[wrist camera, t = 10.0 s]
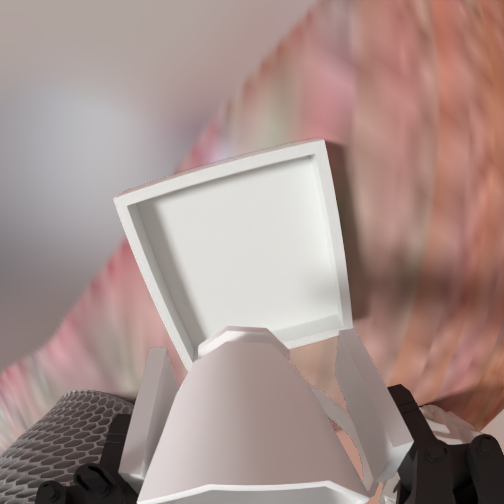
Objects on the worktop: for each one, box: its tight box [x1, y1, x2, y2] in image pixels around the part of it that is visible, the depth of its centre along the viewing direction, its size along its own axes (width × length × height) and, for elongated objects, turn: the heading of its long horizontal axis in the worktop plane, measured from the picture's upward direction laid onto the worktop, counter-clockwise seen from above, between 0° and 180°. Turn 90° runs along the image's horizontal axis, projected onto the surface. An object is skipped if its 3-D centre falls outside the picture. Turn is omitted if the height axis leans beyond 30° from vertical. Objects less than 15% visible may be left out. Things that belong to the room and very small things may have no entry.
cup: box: [137, 326, 379, 504], centre depth 11 cm, size 7×10×8 cm
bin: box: [113, 138, 353, 371], centre depth 24 cm, size 16×15×2 cm
